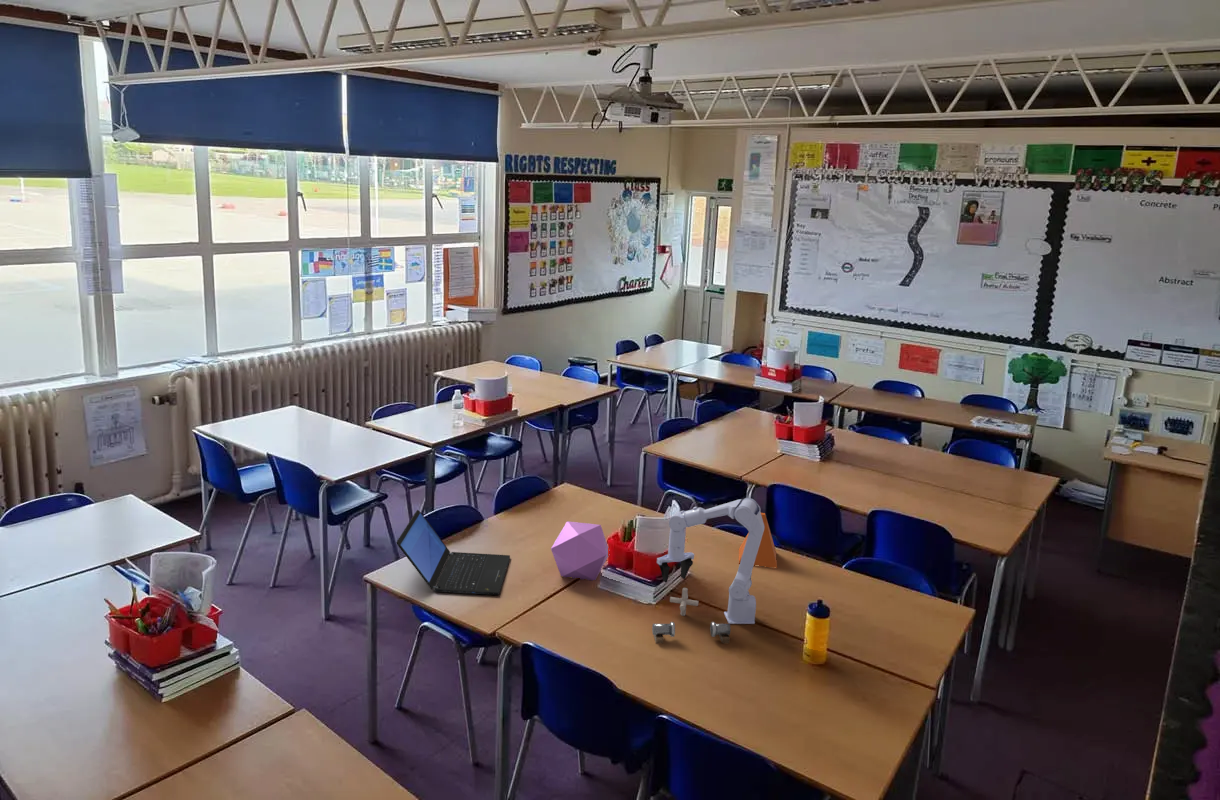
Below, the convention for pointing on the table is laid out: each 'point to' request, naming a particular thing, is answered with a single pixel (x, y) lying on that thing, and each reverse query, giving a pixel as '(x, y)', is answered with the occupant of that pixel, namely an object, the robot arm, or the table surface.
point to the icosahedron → (580, 550)
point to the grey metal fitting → (663, 631)
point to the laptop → (450, 562)
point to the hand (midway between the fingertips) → (674, 579)
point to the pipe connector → (684, 601)
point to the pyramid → (763, 548)
